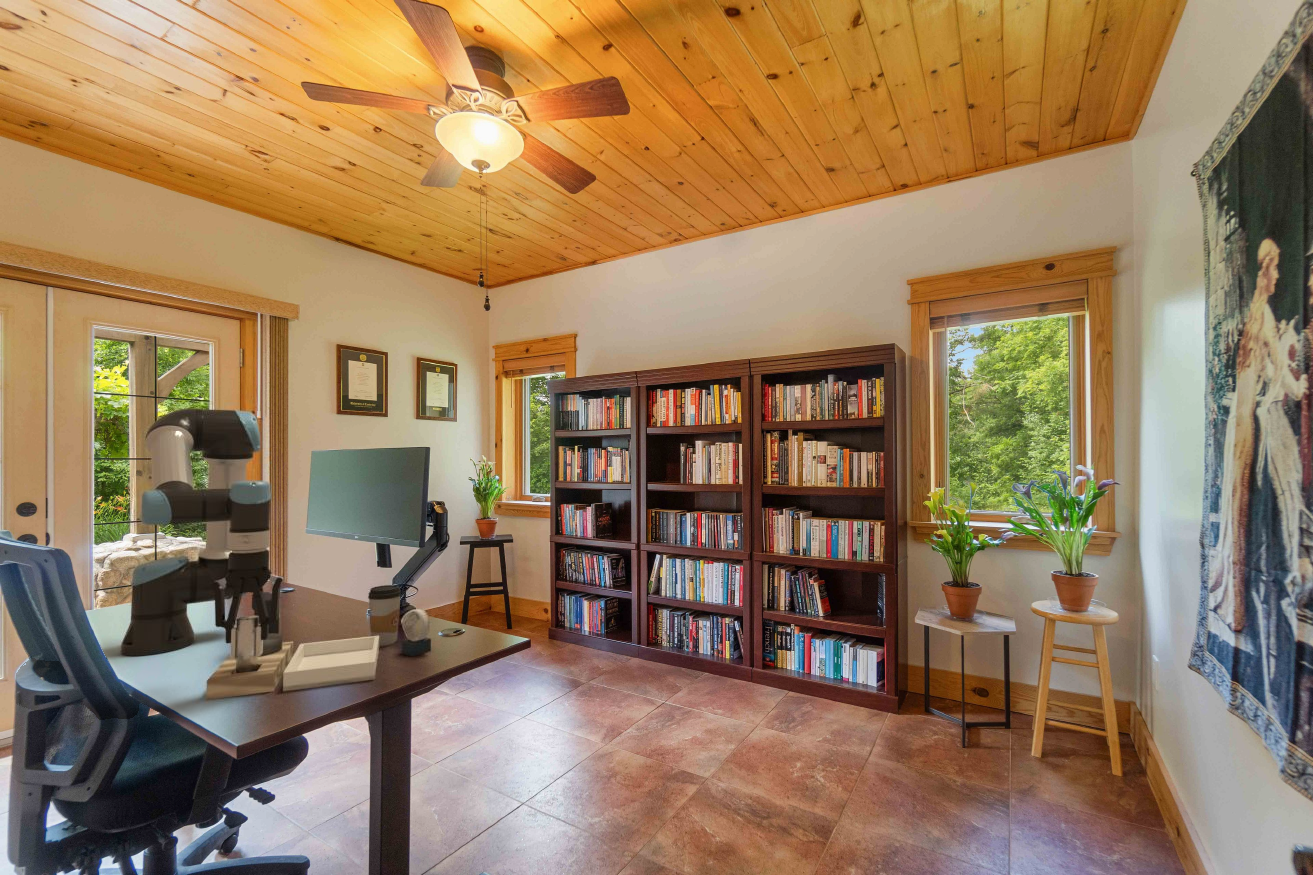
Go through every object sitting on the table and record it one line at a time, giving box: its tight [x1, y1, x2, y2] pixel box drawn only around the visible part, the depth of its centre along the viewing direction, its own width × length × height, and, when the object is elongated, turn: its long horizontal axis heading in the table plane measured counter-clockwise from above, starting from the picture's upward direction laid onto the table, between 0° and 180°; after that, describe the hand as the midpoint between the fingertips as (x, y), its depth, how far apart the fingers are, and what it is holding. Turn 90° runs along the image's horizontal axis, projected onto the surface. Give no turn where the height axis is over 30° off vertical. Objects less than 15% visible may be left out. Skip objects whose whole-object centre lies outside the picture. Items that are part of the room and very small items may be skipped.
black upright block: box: [251, 591, 282, 634], centre depth 154 cm, size 11×4×15 cm, turn 47°
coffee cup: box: [367, 584, 402, 647], centre depth 163 cm, size 8×8×15 cm
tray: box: [282, 635, 380, 692], centre depth 143 cm, size 22×18×4 cm
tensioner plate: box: [205, 633, 294, 701], centre depth 138 cm, size 24×12×8 cm, turn 23°
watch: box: [400, 608, 432, 658], centre depth 155 cm, size 6×8×11 cm
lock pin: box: [235, 615, 259, 674], centre depth 132 cm, size 4×4×14 cm
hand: (246, 655), depth 132 cm, fingers closed on lock pin, 4 cm apart
